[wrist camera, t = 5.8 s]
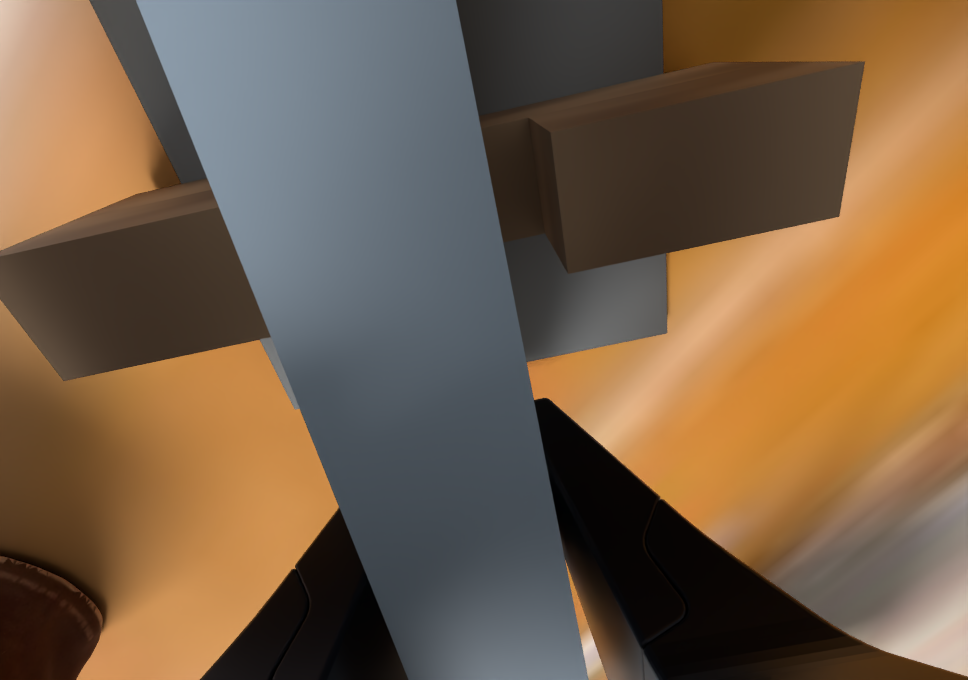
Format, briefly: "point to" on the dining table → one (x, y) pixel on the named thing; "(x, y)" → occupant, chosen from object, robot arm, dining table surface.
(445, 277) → the pale blue slat
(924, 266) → the dining table surface
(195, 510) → the dining table surface
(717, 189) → the slotted base
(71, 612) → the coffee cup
